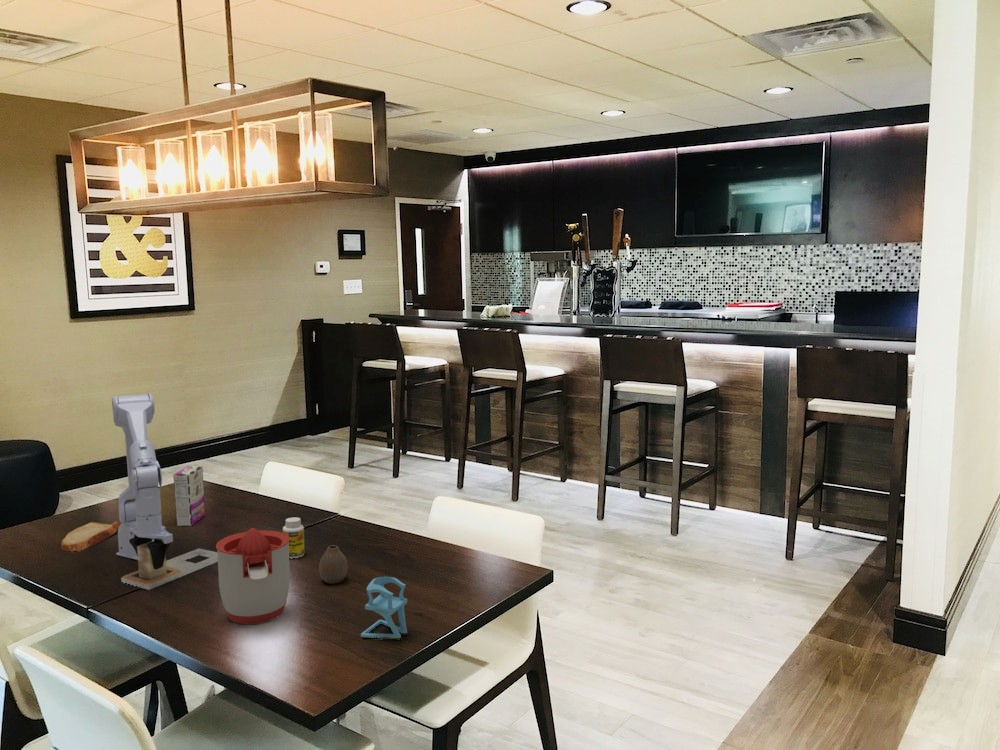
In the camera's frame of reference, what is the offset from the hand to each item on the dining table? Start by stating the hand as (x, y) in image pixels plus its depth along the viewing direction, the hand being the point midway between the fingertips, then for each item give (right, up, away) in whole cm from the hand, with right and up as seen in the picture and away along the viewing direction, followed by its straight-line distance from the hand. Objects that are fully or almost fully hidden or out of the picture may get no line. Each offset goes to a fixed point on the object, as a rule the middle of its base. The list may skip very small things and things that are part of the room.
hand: (151, 566), depth 194 cm
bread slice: (-31, 0, +31) cm, 44 cm away
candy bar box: (-9, +2, +48) cm, 48 cm away
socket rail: (+3, -3, +7) cm, 8 cm away
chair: (+63, -7, -30) cm, 70 cm away
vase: (+46, -4, -1) cm, 46 cm away
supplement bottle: (+31, -2, +17) cm, 35 cm away
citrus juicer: (+33, -6, -21) cm, 39 cm away
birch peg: (0, -3, +1) cm, 3 cm away
